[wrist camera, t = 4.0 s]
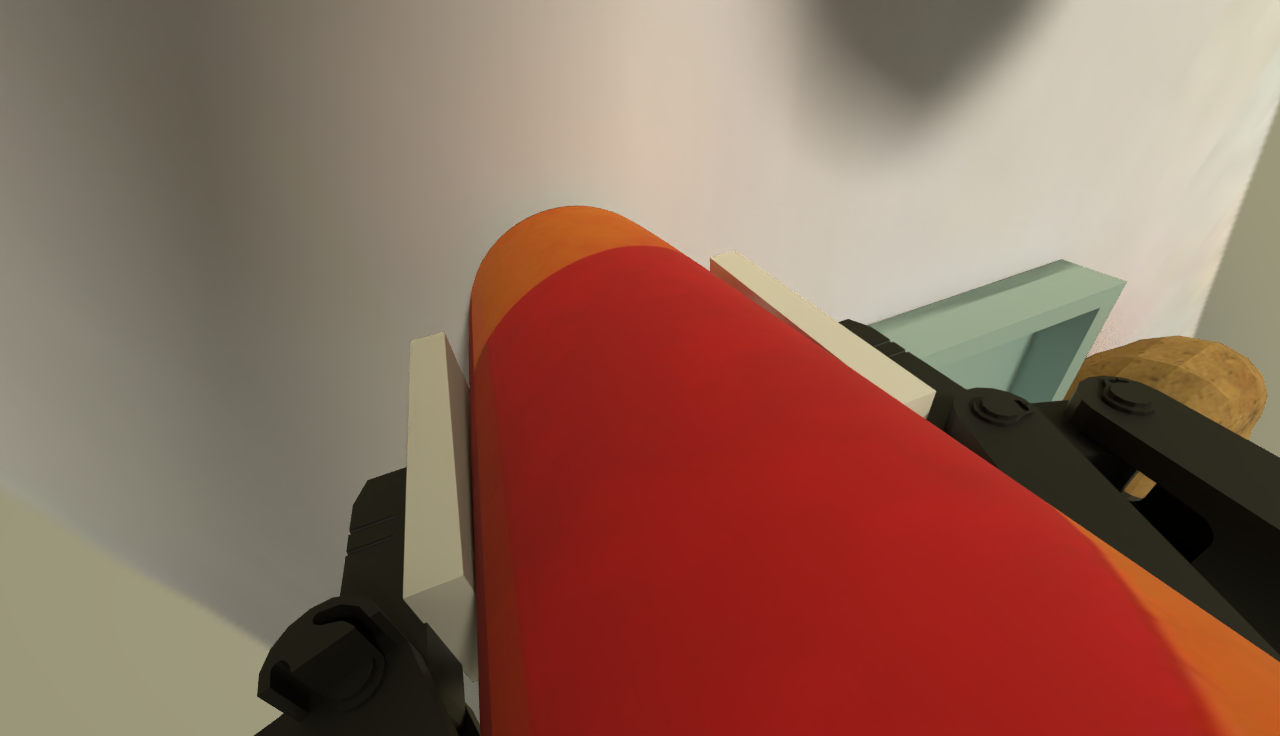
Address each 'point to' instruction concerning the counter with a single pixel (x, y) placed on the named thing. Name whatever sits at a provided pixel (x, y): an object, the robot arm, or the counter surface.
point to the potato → (1186, 382)
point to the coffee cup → (779, 535)
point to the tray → (1012, 330)
